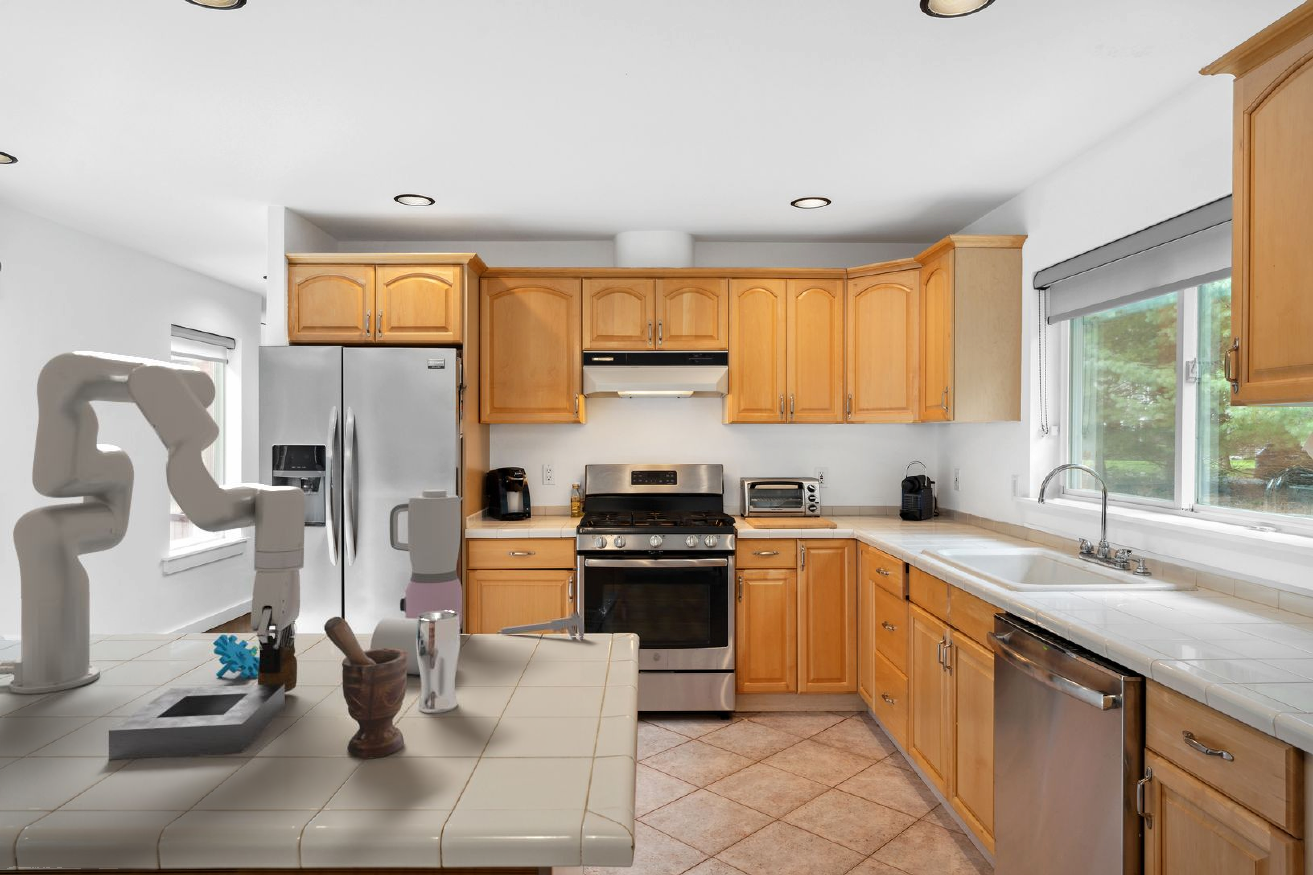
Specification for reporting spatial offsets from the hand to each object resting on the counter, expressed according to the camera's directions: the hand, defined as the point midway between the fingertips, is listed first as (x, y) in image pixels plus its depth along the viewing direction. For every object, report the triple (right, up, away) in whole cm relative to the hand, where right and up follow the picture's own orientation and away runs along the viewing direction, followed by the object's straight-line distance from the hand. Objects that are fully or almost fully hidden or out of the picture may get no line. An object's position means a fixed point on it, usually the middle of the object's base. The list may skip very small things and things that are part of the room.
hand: (277, 665), depth 126 cm
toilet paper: (+18, -6, +13) cm, 23 cm away
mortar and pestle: (+24, -6, -22) cm, 33 cm away
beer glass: (+28, -6, -4) cm, 29 cm away
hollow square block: (-3, -5, -15) cm, 16 cm away
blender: (+13, -5, +40) cm, 43 cm away
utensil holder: (0, -4, 0) cm, 4 cm away
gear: (-13, -6, +11) cm, 18 cm away
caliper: (+38, -6, +39) cm, 55 cm away
